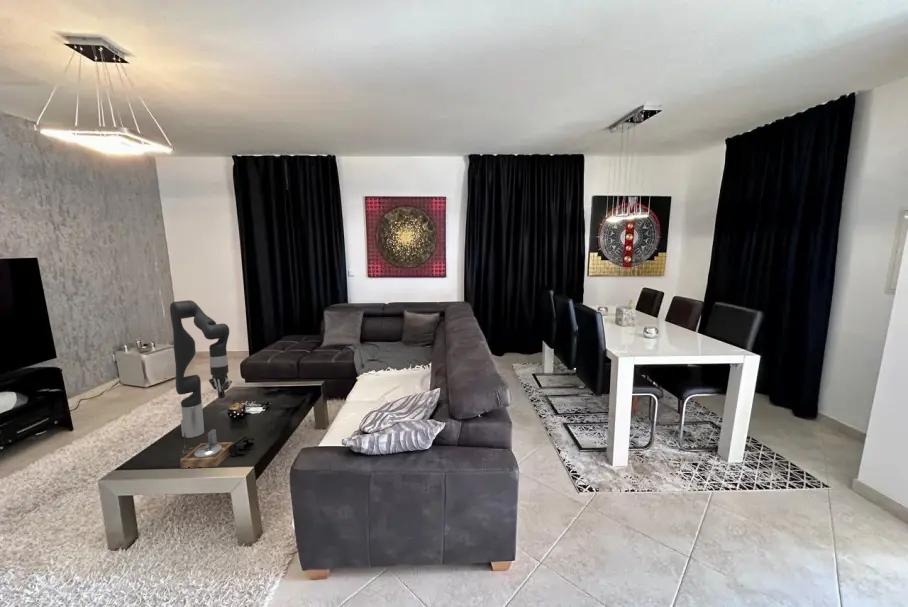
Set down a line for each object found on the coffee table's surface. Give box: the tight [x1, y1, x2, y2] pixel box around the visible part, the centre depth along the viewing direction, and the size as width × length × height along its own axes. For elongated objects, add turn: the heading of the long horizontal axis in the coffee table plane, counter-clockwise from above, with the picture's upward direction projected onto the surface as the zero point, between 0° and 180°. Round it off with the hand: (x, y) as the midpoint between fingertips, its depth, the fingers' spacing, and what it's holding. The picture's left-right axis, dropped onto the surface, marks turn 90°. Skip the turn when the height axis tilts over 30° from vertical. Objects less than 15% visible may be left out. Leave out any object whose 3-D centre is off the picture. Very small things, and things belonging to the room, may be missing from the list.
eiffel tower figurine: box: [179, 433, 196, 460], centre depth 182 cm, size 15×10×13 cm
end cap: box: [229, 434, 255, 458], centre depth 185 cm, size 10×7×7 cm
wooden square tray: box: [179, 441, 235, 469], centre depth 179 cm, size 16×16×4 cm
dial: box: [194, 428, 222, 458], centre depth 179 cm, size 13×11×9 cm
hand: (221, 398), depth 183 cm, fingers closed
